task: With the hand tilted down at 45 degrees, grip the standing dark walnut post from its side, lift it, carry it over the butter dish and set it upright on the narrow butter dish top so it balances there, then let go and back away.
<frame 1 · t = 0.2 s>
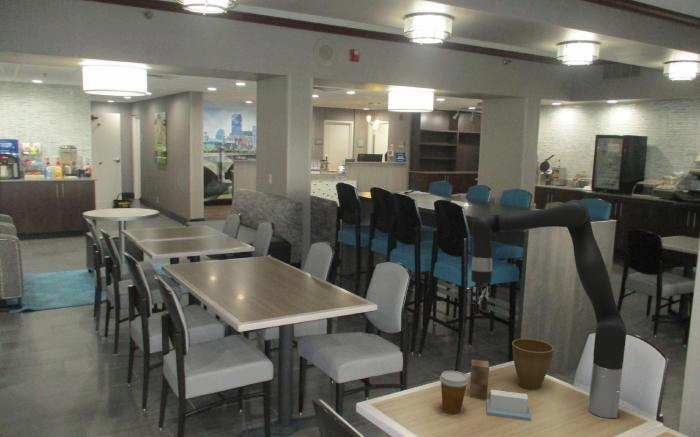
hand: (480, 312, 207), 28 cm above the table, tool pointing down, fingers open, 8 cm apart
post: (477, 394, 201), on the table
disposable coffee cup: (451, 409, 189), on the table
butter dish: (507, 410, 189), on the table
plant pot: (529, 385, 211), on the table
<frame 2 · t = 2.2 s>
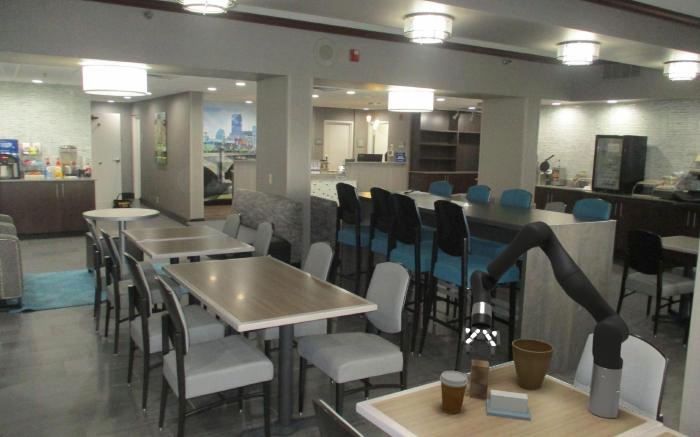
hand: (480, 355, 206), 12 cm above the table, tool tilted 45°, fingers open, 8 cm apart
nothing on the table moved.
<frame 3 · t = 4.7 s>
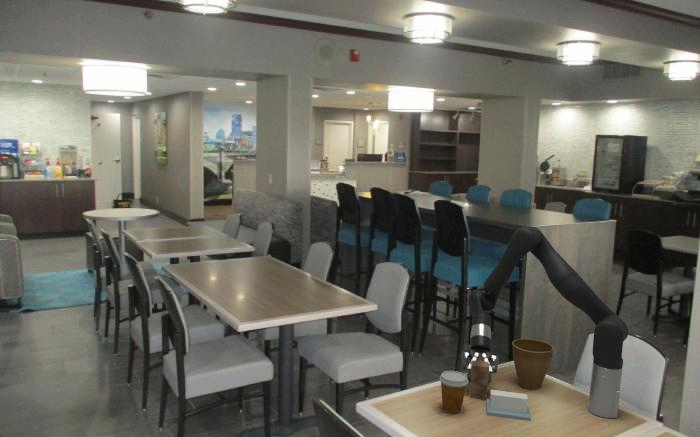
hand: (479, 381, 198), 6 cm above the table, tool tilted 45°, fingers closed on post, 6 cm apart
post: (477, 394, 201), on the table, touching gripper
everything else where it was.
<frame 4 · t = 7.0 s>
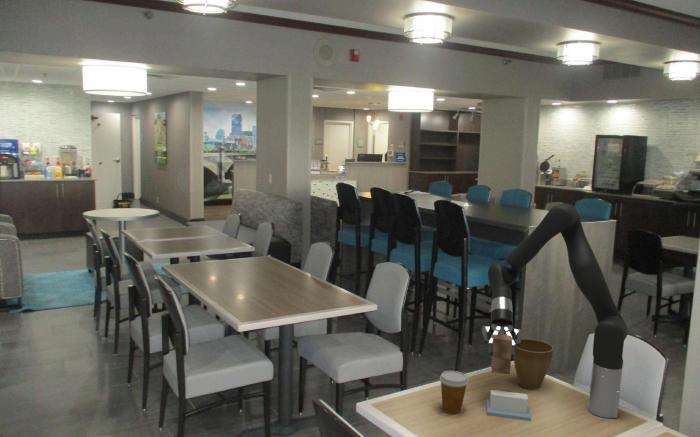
hand: (501, 355, 189), 19 cm above the table, tool tilted 45°, fingers closed on post, 6 cm apart
post: (500, 370, 192), point 13 cm above the table, touching gripper
everything else where it was.
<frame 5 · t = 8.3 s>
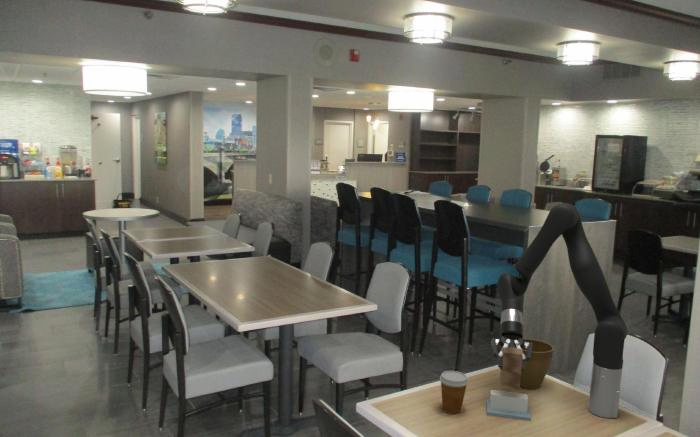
hand: (511, 369, 186), 15 cm above the table, tool tilted 45°, fingers closed on post, 6 cm apart
post: (509, 384, 188), point 10 cm above the table, touching gripper
everything else where it was.
when the fingers open (13 cm above the table, at t = 9.4 s): post stays where it is, resting on butter dish.
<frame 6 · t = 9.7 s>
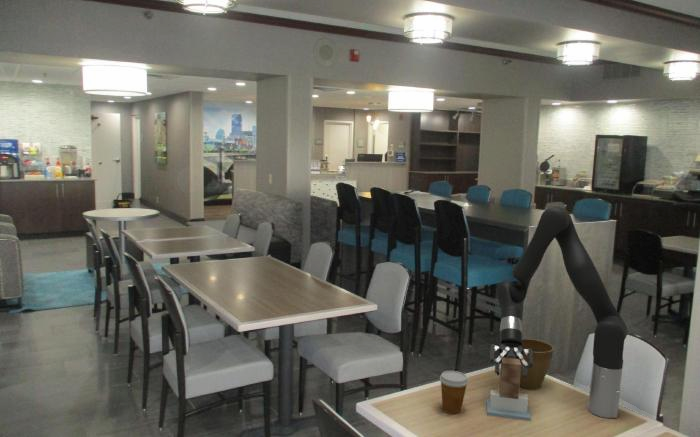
hand: (511, 376, 186), 13 cm above the table, tool tilted 45°, fingers open, 8 cm apart
post: (508, 394, 189), point 6 cm above the table, touching butter dish
everything else where it was.
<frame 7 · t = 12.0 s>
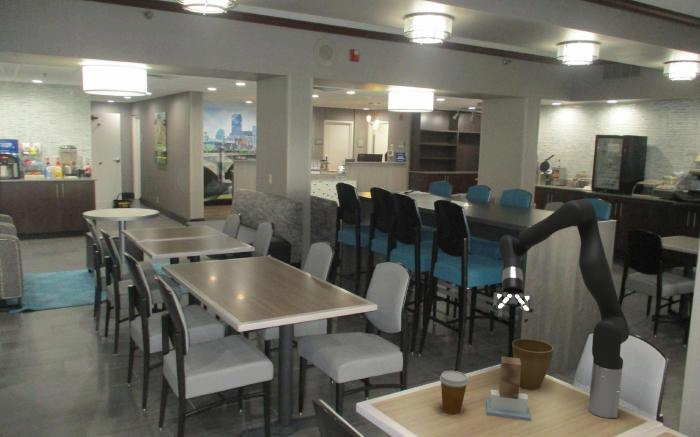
hand: (513, 320, 199), 28 cm above the table, tool tilted 45°, fingers open, 8 cm apart
nothing on the table moved.
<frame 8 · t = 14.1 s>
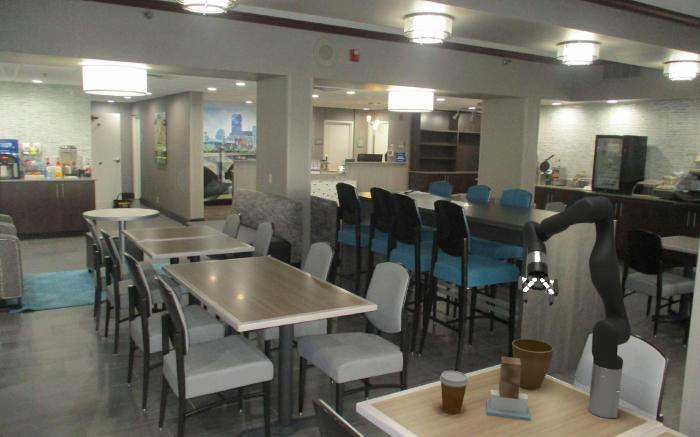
hand: (538, 303, 201), 34 cm above the table, tool tilted 45°, fingers open, 8 cm apart
nothing on the table moved.
at the end: post inside the target area on the butter dish (0.2 cm from its centre), point 6.0 cm above the butter dish's base; post tilted 0°; the gripper is holding nothing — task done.
